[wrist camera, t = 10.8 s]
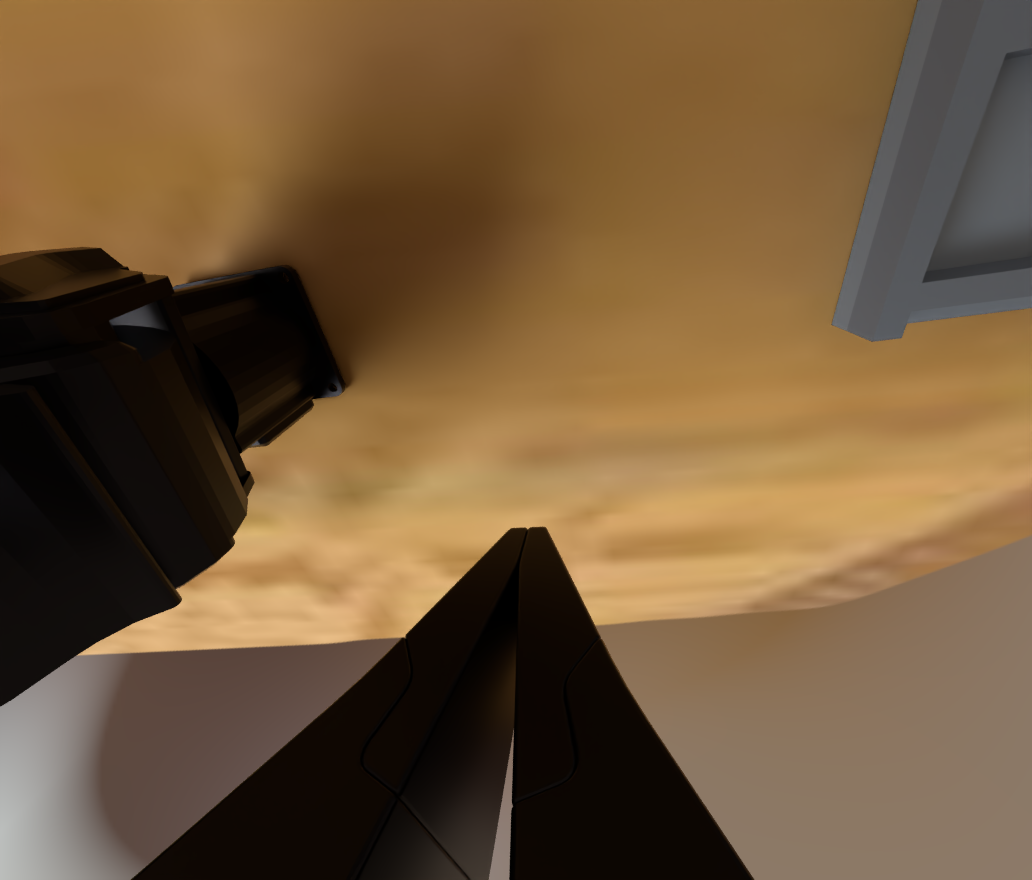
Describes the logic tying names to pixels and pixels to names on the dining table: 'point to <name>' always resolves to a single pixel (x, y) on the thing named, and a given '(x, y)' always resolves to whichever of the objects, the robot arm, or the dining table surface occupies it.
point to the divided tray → (949, 176)
